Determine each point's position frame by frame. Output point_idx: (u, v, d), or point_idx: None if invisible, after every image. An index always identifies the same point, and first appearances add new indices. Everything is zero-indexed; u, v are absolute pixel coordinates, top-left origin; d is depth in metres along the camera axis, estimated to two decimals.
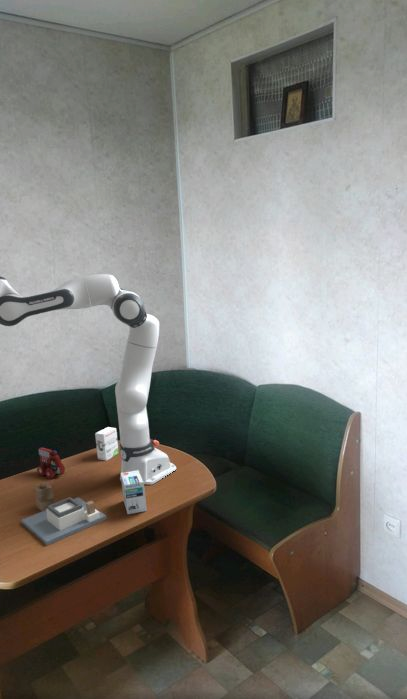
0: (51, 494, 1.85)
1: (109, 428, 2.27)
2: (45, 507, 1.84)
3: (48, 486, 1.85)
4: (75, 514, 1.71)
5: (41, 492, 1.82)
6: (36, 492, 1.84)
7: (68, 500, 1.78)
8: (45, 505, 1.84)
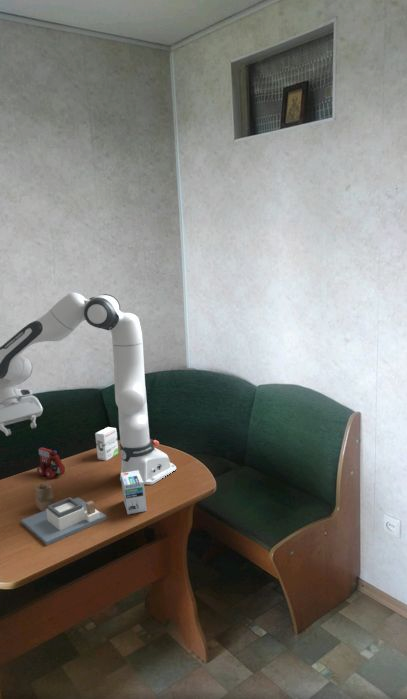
0: (51, 494, 1.85)
1: (109, 428, 2.27)
2: (45, 507, 1.84)
3: (48, 486, 1.85)
4: (75, 514, 1.71)
5: (41, 492, 1.82)
6: (36, 492, 1.84)
7: (68, 500, 1.78)
8: (45, 505, 1.84)
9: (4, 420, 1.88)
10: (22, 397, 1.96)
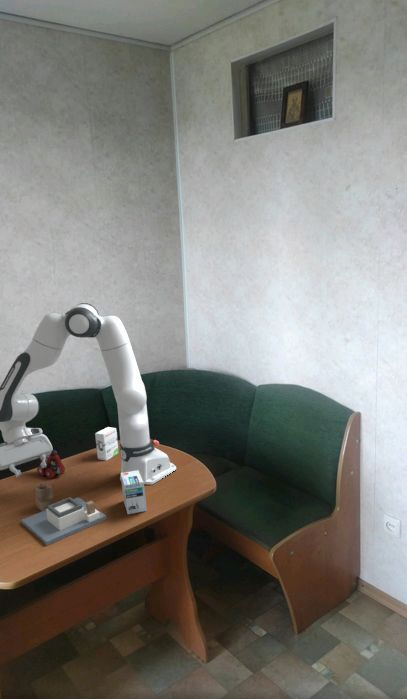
0: (51, 494, 1.85)
1: (109, 428, 2.27)
2: (45, 507, 1.84)
3: (48, 486, 1.85)
4: (75, 514, 1.71)
5: (41, 492, 1.82)
6: (36, 492, 1.84)
7: (68, 500, 1.78)
8: (45, 505, 1.84)
9: (14, 461, 1.88)
10: (32, 436, 1.95)
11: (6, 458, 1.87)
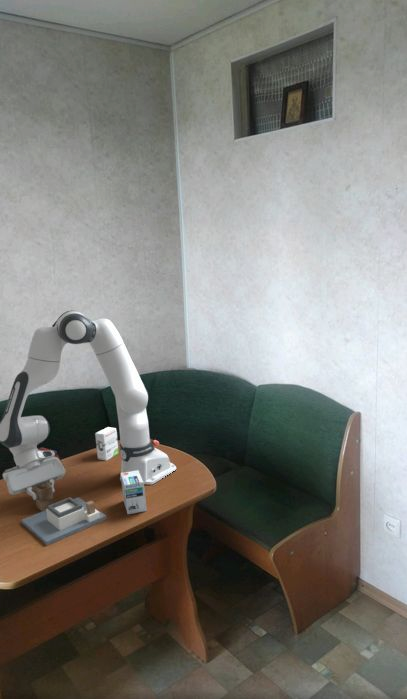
0: (51, 494, 1.85)
1: (109, 428, 2.27)
2: (45, 507, 1.84)
3: (48, 486, 1.85)
4: (75, 514, 1.71)
5: (41, 492, 1.82)
6: (36, 492, 1.84)
7: (68, 500, 1.78)
8: (45, 505, 1.84)
9: (27, 486, 1.83)
10: (44, 459, 1.90)
11: (18, 483, 1.82)
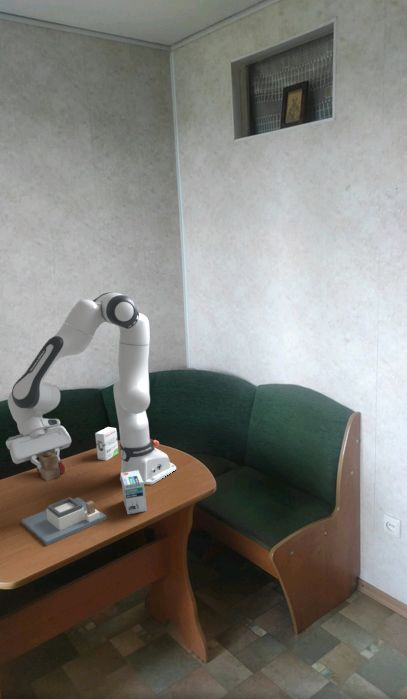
0: (56, 463, 1.77)
1: (109, 428, 2.27)
2: (50, 476, 1.76)
3: (53, 455, 1.77)
4: (75, 514, 1.71)
5: (46, 460, 1.74)
6: (41, 461, 1.76)
7: (68, 500, 1.78)
8: (50, 475, 1.76)
9: (31, 454, 1.75)
10: (49, 428, 1.82)
11: (22, 451, 1.74)
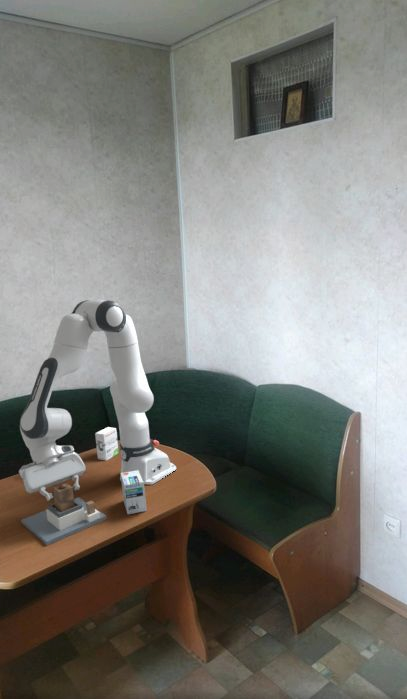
0: (71, 495, 1.72)
1: (109, 428, 2.27)
2: (65, 509, 1.71)
3: (68, 486, 1.72)
4: (75, 514, 1.71)
5: (61, 493, 1.69)
6: (55, 493, 1.71)
7: None
8: (65, 507, 1.71)
9: (45, 483, 1.70)
10: (63, 455, 1.77)
11: (36, 480, 1.69)
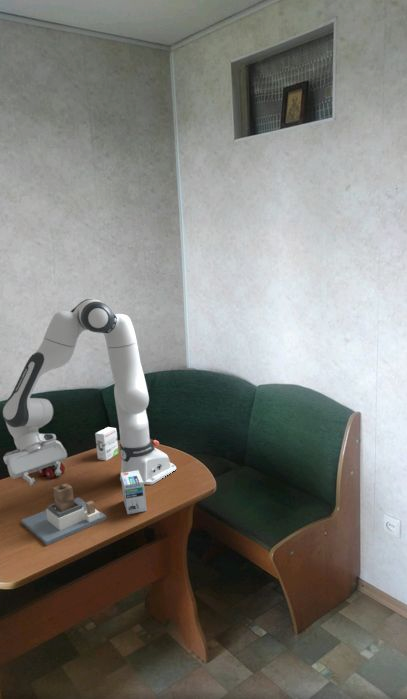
0: (71, 495, 1.72)
1: (109, 428, 2.27)
2: (65, 509, 1.71)
3: (68, 486, 1.72)
4: (75, 514, 1.71)
5: (61, 493, 1.69)
6: (55, 493, 1.71)
7: None
8: (65, 507, 1.71)
9: (28, 469, 1.79)
10: (45, 442, 1.87)
11: (19, 466, 1.79)
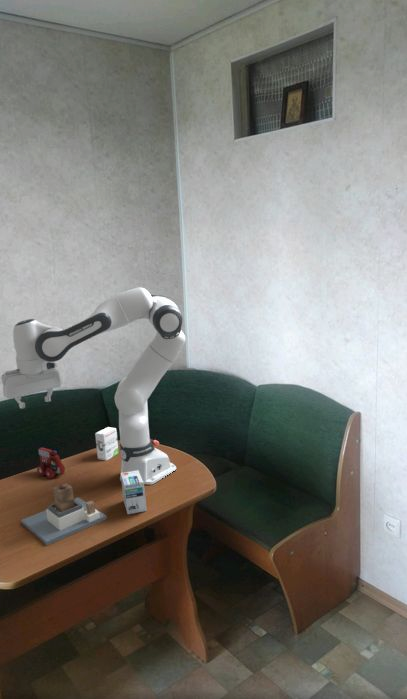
0: (71, 495, 1.72)
1: (109, 428, 2.27)
2: (65, 509, 1.71)
3: (68, 486, 1.72)
4: (75, 514, 1.71)
5: (61, 493, 1.69)
6: (55, 493, 1.71)
7: None
8: (65, 507, 1.71)
9: (22, 394, 1.82)
10: (46, 371, 1.85)
11: (15, 391, 1.80)
